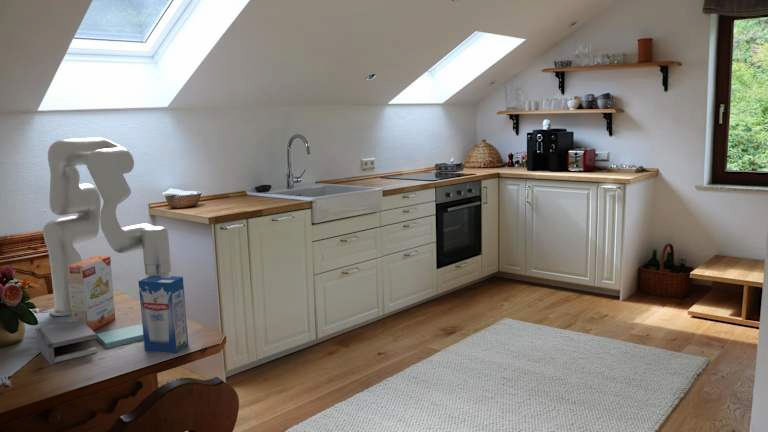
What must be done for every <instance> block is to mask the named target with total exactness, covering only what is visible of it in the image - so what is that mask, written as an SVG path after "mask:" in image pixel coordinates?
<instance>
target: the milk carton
mask: <svg viewBox="0 0 768 432" xmlns="http://www.w3.org/2000/svg"><path fill="white" fill-rule="evenodd" d="M184 286H185V284H184V276H171V275H169V276H153V275H152V276H150V277H147V278H146V277H145V278H143V279H141V280H138V291H139V292H138V293H139V301H140V312H141V314H140V315H141V324H142V325H143V336H144V339H143V346H144V351H145V352H152V353H162V354H163V353H164V354H165V353H166V354H178V353H179V352H182V351H183V350H184V349H186V348H187V347H188V346H189V338H188V325H187V312H186V311H187V310H186V299H185V288H184Z"/></svg>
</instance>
